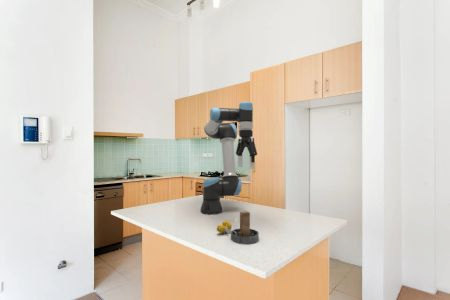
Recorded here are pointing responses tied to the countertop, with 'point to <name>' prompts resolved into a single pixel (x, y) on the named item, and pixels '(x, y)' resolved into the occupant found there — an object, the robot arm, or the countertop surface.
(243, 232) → the wooden beam block
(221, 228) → the pressure relief valve
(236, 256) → the countertop surface
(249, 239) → the tin
